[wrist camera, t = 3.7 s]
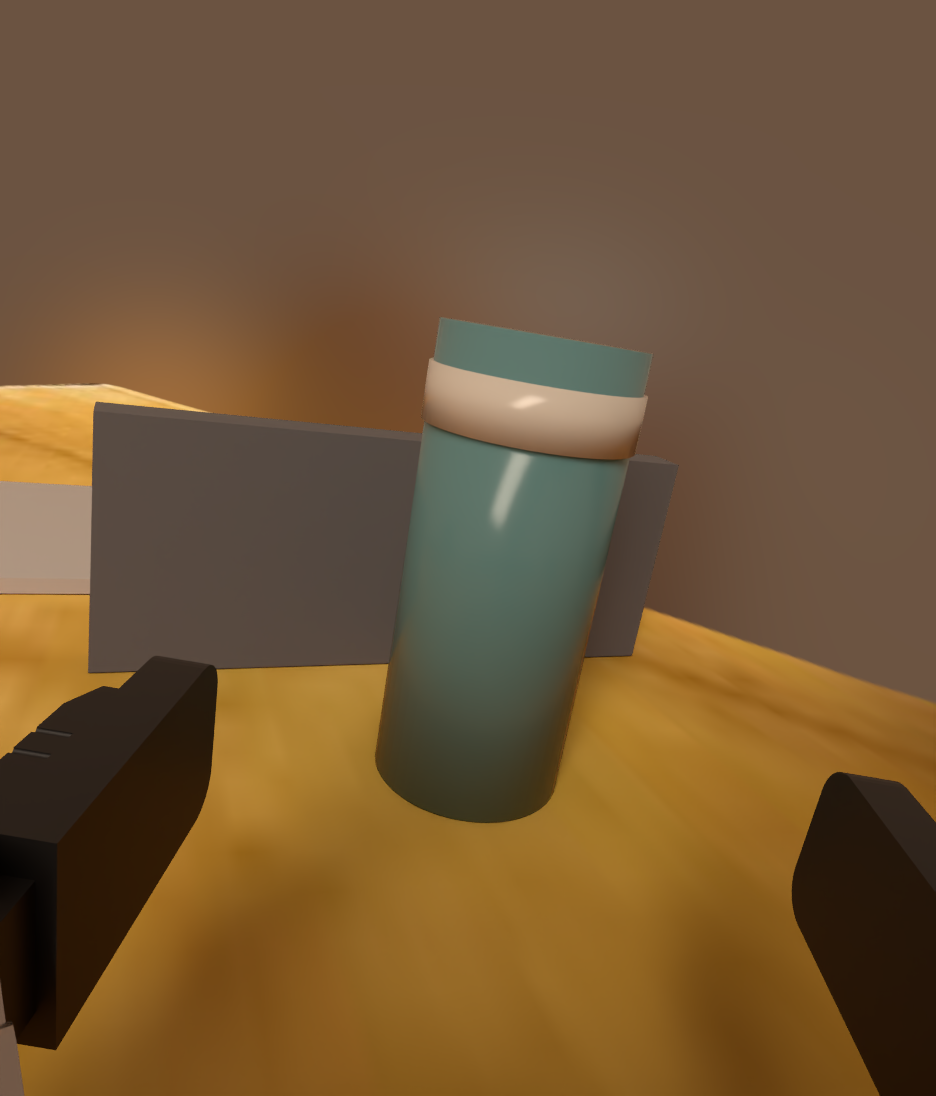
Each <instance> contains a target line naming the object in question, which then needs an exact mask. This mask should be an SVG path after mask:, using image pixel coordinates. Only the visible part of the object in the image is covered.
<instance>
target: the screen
mask: <svg viewBox="0 0 936 1096" xmlns="http://www.w3.org/2000/svg"><path fill="white" fill-rule="evenodd" d="M421 441H422V433H411V432H402V431H391V430H381V429H370V428H360V427H350V426H340V425H329V424H319V423H308V422H299V421H288V420H278V419H268V418H257V417H247V416H237V415H226V414H216V413H206V412H195V411H185V410H175V409H165V408H154V407H144V406H134V405H123V404H113V403H103V402H96V403H95V407H94V415H93V465H92V514H91V564H90V613H89V663H88V673H93V672H125V671H138V670H139V669H140V668H141V667H142V666H143V665H144V664H145V663H146V662H147V661H148V660H149V659H150V658H152V657H153V656H163V657H169V658H175V659H181V660H187V661H193V662H199V663H205V664H211V665H214V666H215V668H216V669H219V668H251V667H283V666H314V665H346V664H377V663H389V658H390V651H391V644H392V637H393V631H394V624H395V617H396V610H397V604H398V597H399V590H400V583H401V576H402V570H403V563H404V556H405V549H406V543H407V536H408V529H409V522H410V516H411V509H412V502H413V495H414V489H415V482H416V475H417V468H418V461H419V455H420V448H421ZM678 466H679V465H677V464H674V463H672V462H669V461H667V460H664V459H662V458H659V457H657V456H649V455H639V454H635V456H633V457H631V458H630V460H629V464H628V468H627V473H626V477H625V482H624V486H623V490H622V495H621V499H620V504H619V508H618V512H617V517H616V521H615V525H614V530H613V534H612V539H611V543H610V547H609V552H608V556H607V560H606V565H605V569H604V574H603V578H602V582H601V587H600V591H599V596H598V600H597V604H596V609H595V613H594V617H593V622H592V626H591V631H590V635H589V639H588V644H587V648H586V652H585V657H598V656H629V655H632V653H633V649H634V644H635V640H636V636H637V632H638V628H639V624H640V620H641V616H642V612H643V608H644V604H645V599H646V596H647V592H648V588H649V583H650V580H651V575H652V571H653V568H654V563H655V559H656V555H657V551H658V547H659V543H660V539H661V535H662V531H663V527H664V522H665V519H666V515H667V511H668V507H669V503H670V499H671V495H672V491H673V486H674V482H675V478H676V474H677V470H678Z"/></svg>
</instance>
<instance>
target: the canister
mask: <svg viewBox="0 0 936 1096" xmlns="http://www.w3.org/2000/svg"><path fill="white" fill-rule="evenodd" d="M652 358H653V354H651V353H646V352H641V351H636V350H631V349H625V348H620V347H615V346H609V345H604V344H598V343H592V342H587V341H581V340H575V339H570V338H564V337H558V336H552V335H547V334H541V333H535V332H529V331H524V330H517V329H511V328H505V327H500V326H494V325H488V324H482V323H476V322H469V321H463V320H457V319H450V318H443V317H440V319H439V326H438V333H437V340H436V346H435V354H434V358H430V359H429V365H428V366H429V367H428V372H427V379H426V386H425V394H424V401H423V407H422V414H421V418H422V419H423V420H424V428H423V434H422V441H421V448H420V455H419V461H418V468H417V475H416V482H415V489H414V495H413V502H412V509H411V516H410V522H409V529H408V536H407V543H406V549H405V556H404V563H403V570H402V576H401V583H400V590H399V597H398V604H397V610H396V617H395V624H394V631H393V637H392V644H391V651H390V658H389V664H388V671H387V678H386V685H385V692H384V698H383V705H382V712H381V719H380V725H379V732H378V739H377V746H376V752H375V762H376V765H377V769H378V771H379V773H380V775H381V777H382V778H383V779H384V781H385V782H386V783H387V784H388V785H389V787H390V788H391V789H392V790H393V791H395V792H396V793H397V794H399V795H400V796H401V797H402V798H404V799H406V800H407V801H409V802H410V803H412V804H414V805H416V806H418V807H420V808H422V809H424V810H427V811H429V812H432V813H434V814H438V815H441V816H444V817H448V818H452V819H457V820H462V821H470V822H486V823H488V822H503V821H510V820H514V819H518V818H522V817H525V816H527V815H530V814H532V813H534V812H536V811H537V810H539V809H540V808H542V807H543V806H544V805H545V804H546V803H547V802H548V801H549V799H550V798H551V796H552V794H553V792H554V788H555V784H556V780H557V775H558V771H559V766H560V762H561V758H562V753H563V749H564V744H565V740H566V736H567V731H568V727H569V723H570V718H571V714H572V709H573V705H574V701H575V696H576V692H577V688H578V683H579V679H580V674H581V670H582V666H583V661H584V657H585V652H586V648H587V644H588V639H589V635H590V631H591V626H592V622H593V617H594V613H595V609H596V604H597V600H598V596H599V591H600V587H601V582H602V578H603V574H604V569H605V565H606V560H607V556H608V552H609V547H610V543H611V539H612V534H613V530H614V525H615V521H616V517H617V512H618V508H619V504H620V499H621V495H622V490H623V486H624V482H625V477H626V473H627V468H628V464H629V460H630V458H631V457H633V456H635V452H636V447H637V443H638V438H639V434H640V430H641V426H642V421H643V417H644V413H645V408H646V404H647V399H648V397H647V396H646V395H644V394H645V390H646V385H647V381H648V376H649V372H650V368H651V363H652Z"/></svg>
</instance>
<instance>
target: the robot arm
mask: <svg viewBox="0 0 936 1096" xmlns="http://www.w3.org/2000/svg"><path fill="white" fill-rule="evenodd" d="M217 683H218V678H217V671H216V668H215V666H214V665H211V664H205V663H199V662H193V661H187V660H181V659H175V658H169V657H163V656H153V657H152V658H150V659H149V660H148V661H147V662H146V663H145V664H144V665H143V666H142V667H141V668H140V669H139V670H138V671H137V672H136V673H135V674H134V675H133V676H132V677H131V678H129V679H128V680H127V681H126V682H125V683H124V684H123V685H122V686H121V687H120V688H119V689H118V688H112V687H106V686H102V687H100V688H97V689H95V690H93V691H91V692H88V693H86V694H84V695H82V696H79V697H77V698H75V699H72V700H70V701H68V702H66V703H64V704H63V705H61V706H60V707H59V708H58V709H57V710H56V711H55V712H53V713H52V714H51V715H50V716H49V717H48V718H47V719H45V720H44V721H43V722H42V723H41V724H40V725H39V726H38V727H37V729H36V732H31V733H30V734H28V735H27V736H26V737H25V738H24V739H23V740H22V741H20V742H19V743H18V744H17V745H16V746H15V747H14V750H13V752H12V753H7V754H6V755H5V756H3V757H2V758H1V759H0V1096H24V1091H23V1084H22V1077H21V1070H20V1063H19V1055H18V1049H17V1044H22V1045H28V1046H34V1047H40V1048H46V1049H52V1050H56V1049H57V1047H58V1046H59V1044H60V1043H61V1041H62V1039H63V1038H64V1036H65V1034H66V1033H67V1031H68V1029H69V1028H70V1026H71V1025H72V1023H73V1021H74V1020H75V1018H76V1016H77V1015H78V1013H79V1011H80V1010H81V1008H82V1007H83V1005H84V1003H85V1002H86V1000H87V998H88V997H89V995H90V993H91V992H92V990H93V989H94V987H95V985H96V984H97V982H98V980H99V979H100V977H101V975H102V974H103V972H104V971H105V969H106V967H107V966H108V964H109V962H110V961H111V959H112V957H113V956H114V954H115V953H116V951H117V949H118V948H119V946H120V944H121V943H122V941H123V939H124V938H125V936H126V935H127V933H128V931H129V930H130V928H131V926H132V925H133V923H134V921H135V920H136V918H137V917H138V915H139V913H140V912H141V910H142V908H143V907H144V905H145V903H146V902H147V900H148V899H149V897H150V895H151V894H152V892H153V890H154V889H155V887H156V885H157V884H158V882H159V880H160V879H161V877H162V876H163V874H164V872H165V871H166V869H167V867H168V866H169V864H170V862H171V861H172V859H173V858H174V856H175V854H176V853H177V851H178V849H179V848H180V846H181V844H182V843H183V841H184V840H185V838H186V836H187V835H188V833H189V831H190V830H191V828H192V826H193V825H194V823H195V821H196V820H197V818H198V816H199V813H200V811H201V809H202V806H203V803H204V800H205V797H206V794H207V790H208V786H209V781H210V775H211V766H212V752H213V739H214V725H215V712H216V698H217ZM792 904H793V910H794V915H795V918H796V921H797V924H798V926H799V928H800V930H801V932H802V934H803V936H804V939H805V941H806V943H807V945H808V947H809V949H810V951H811V953H812V955H813V957H814V959H815V961H816V963H817V966H818V968H819V970H820V972H821V974H822V976H823V978H824V980H825V982H826V984H827V986H828V988H829V990H830V993H831V995H832V997H833V999H834V1001H835V1003H836V1005H837V1007H838V1009H839V1011H840V1013H841V1015H842V1017H843V1020H844V1022H845V1024H846V1026H847V1028H848V1030H849V1032H850V1034H851V1036H852V1038H853V1040H854V1042H855V1044H856V1047H857V1049H858V1051H859V1053H860V1055H861V1057H862V1059H863V1061H864V1063H865V1065H866V1067H867V1069H868V1071H869V1074H870V1076H871V1078H872V1080H873V1082H874V1084H875V1086H876V1088H877V1090H878V1092H879V1094H880V1096H936V822H935V821H934V820H933V819H932V818H931V816H930V815H929V814H928V813H927V812H926V811H925V809H924V808H923V807H922V806H921V805H920V803H919V802H918V801H917V800H916V799H915V798H914V796H913V795H912V794H911V793H910V792H909V791H908V789H907V788H906V787H905V786H904V785H902V784H901V783H899V782H896V781H890V780H884V779H879V778H873V777H867V776H861V775H855V774H849V773H843V772H836V773H834V774H832V775H831V776H830V777H829V778H828V780H827V781H826V783H825V785H824V787H823V789H822V792H821V795H820V798H819V801H818V804H817V807H816V809H815V812H814V815H813V818H812V821H811V824H810V827H809V830H808V833H807V835H806V838H805V841H804V844H803V847H802V850H801V853H800V856H799V859H798V861H797V864H796V867H795V871H794V875H793V881H792Z"/></svg>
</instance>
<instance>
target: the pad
mask: <svg viewBox="0 0 936 1096" xmlns="http://www.w3.org/2000/svg"><path fill="white" fill-rule="evenodd" d="M91 514H92V486H77V485H59V484H41V483H24V482H6V481H0V593H6V594H90V564H91Z"/></svg>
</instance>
